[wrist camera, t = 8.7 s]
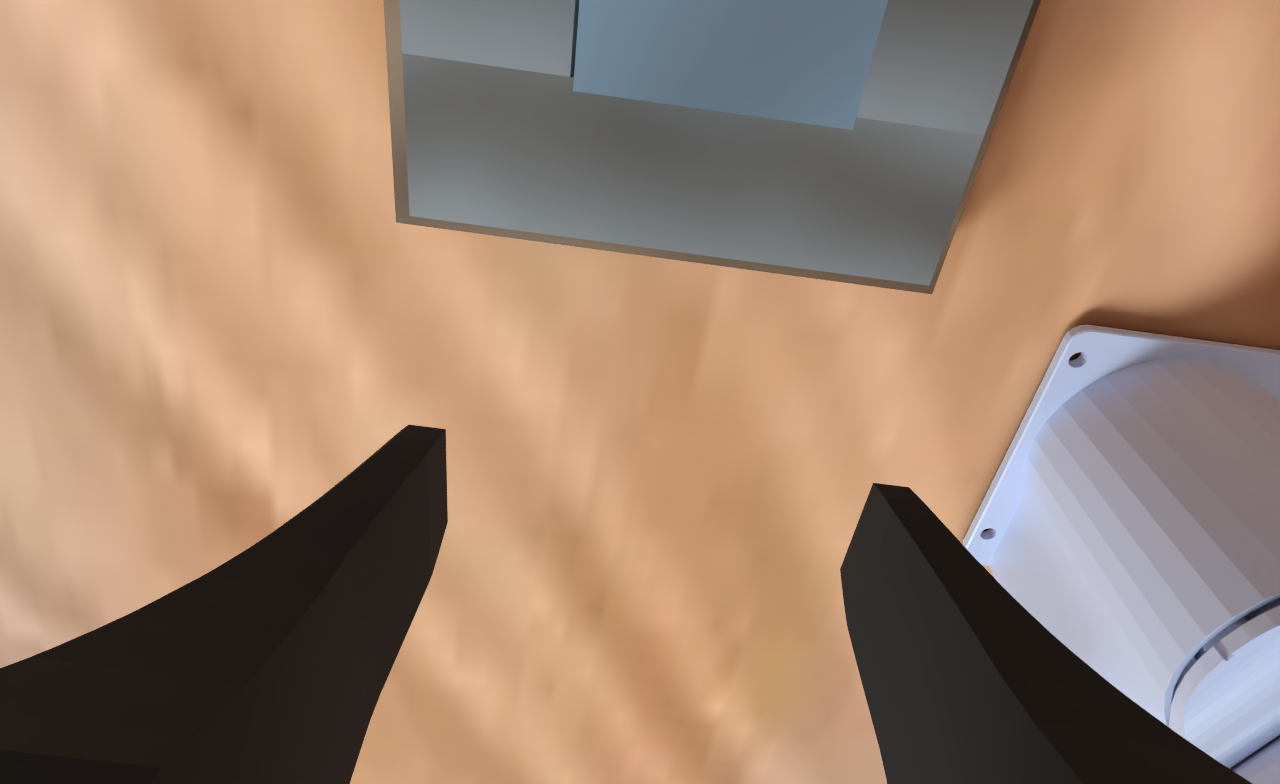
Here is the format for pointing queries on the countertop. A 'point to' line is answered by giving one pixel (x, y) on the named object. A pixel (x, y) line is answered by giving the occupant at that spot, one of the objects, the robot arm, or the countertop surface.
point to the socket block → (696, 145)
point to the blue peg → (732, 55)
